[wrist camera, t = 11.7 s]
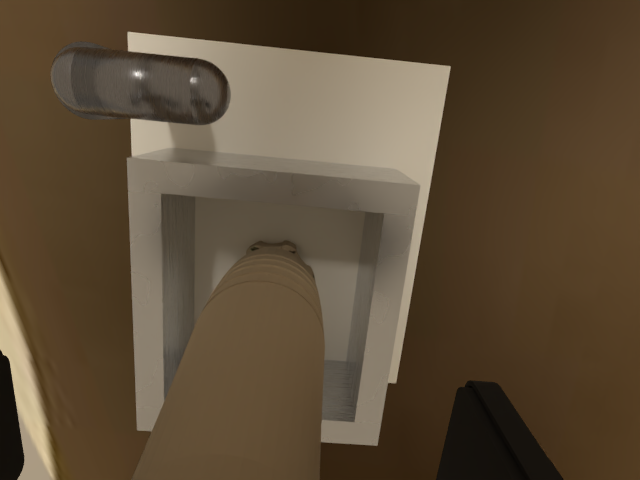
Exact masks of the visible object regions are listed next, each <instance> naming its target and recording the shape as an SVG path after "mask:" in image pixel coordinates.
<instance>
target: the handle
mask: <svg viewBox="0 0 640 480" xmlns="http://www.w3.org/2000/svg"><path fill="white" fill-rule="evenodd" d="M324 355H325V340H324V328H323V317H322V309H321V304H320V298H319V293H318V289H317V286H316V282H315V276H314V273H313V270H312V268H311V266H309V265H307V264H305V263H304V262H303V260H302V259H301V258H300V256H299V254H298V252H297V249H296V245H295V244H294V243H292V242H290V241H287V240H284V241H283V242H281V243H275V244H271V243H265V242H263V241H258V242H256V243H254V244H253V245H251V246H250V247H249V248H248V249H247V251H246V255H245V256H243V257H242V258H241V259H239V260H238V261H237V262H236V263H235V264H234V265H233V266H232V267H231V268H230V269H229V270H228V271H227V273H226V274H225V275H224V277H223V278H222V279H221V281H220V282H219V283H218V285H217V286H216V288H215V289H214V291H213V292H212V294H211V296H210V298H209V300H208V301H207V303H206V305H205V307H204V309H203V310H202V312H201V314H200V316H199V318H198V319H197V322H196V324H195V327H194V329H193V332H192V334H191V337H190V339H189V342H188V344H187V347H186V349H185V352H184V354H183V357H182V359H181V361H180V364H179V366H178V369H177V371H176V374H175V376H174V379H173V381H172V384H171V386H170V389H169V391H168V394H167V396H166V399H165V401H164V403H163V406H162V408H161V411H160V413H159V415H158V418H157V420H156V422H155V425H154V427H153V430H152V432H151V434H150V437H149V439H148V442H147V444H146V446H145V449H144V451H143V453H142V456H141V458H140V461H139V463H138V465H137V468H136V470H135V472H134V475H133V477H132V480H320V453H321V422H322V400H323V378H324Z"/></svg>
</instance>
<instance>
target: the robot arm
mask: <svg viewBox="0 0 640 480" xmlns="http://www.w3.org/2000/svg"><path fill="white" fill-rule="evenodd" d="M23 465H24V453H23V447H22V440H21V434H20V428H19V421H18V414H17V408H16V401H15V395H14V388H13V382H12V375H11V369H10V362H9V359H8V358H7V356H4V355H3V354H2V352H1V350H0V480H17V479H18V477H19V476H20V473H21V471H22V469H23ZM436 480H563V478H562V477H561V475H560V474H559V472H558V471H557V469H556V468H555V466H554V465H553V463H552V462H551V461H550V460H549V458H548V457H547V456H546V454H545V453H544V451H543V450H542V448H541V447H540V445H539V444H538V442H537V441H536V439H535V438H534V436H533V435H532V434H531V432H530V431H529V429H528V428H527V426H526V425H525V423H524V422H523V420H522V419H521V417H520V416H519V414H518V413H517V411H516V410H515V408H514V407H513V405H512V404H511V402H510V401H509V399H508V398H507V396H506V395H505V393H504V392H503V390H502V389H501V387H500V386H499V385H498V384H497V383H495V382H483V381H468V382H467V383H466V385H465V387H459V388H458V390H457V393H456V397H455V401H454V405H453V410H452V414H451V418H450V422H449V427H448V431H447V435H446V440H445V444H444V448H443V452H442V457H441V461H440V465H439V470H438V474H437V478H436Z"/></svg>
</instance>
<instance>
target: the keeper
mask: <svg viewBox="0 0 640 480" xmlns="http://www.w3.org/2000/svg"><path fill="white" fill-rule="evenodd" d="M450 68H451V66H444V65H434V64H425V63H415V62H406V61H397V60H387V59H378V58H369V57H359V56H350V55H340V54H331V53H322V52H312V51H303V50H293V49H284V48H275V47H265V46H256V45H246V44H237V43H228V42H218V41H209V40H199V39H190V38H181V37H171V36H162V35H152V34H143V33H134V32H128V51H121V50H112V49H109V48H106V47H103V46H100V45H97V44H93V43H90V42H75V43H72V44H69V45H67V46H66V47H64V48H63V49H62V50H60V51H59V53H58V54H57V55H56V57H55V59H54V61H53V64H52V67H51V82H52V86H53V89H54V91H55V93H56V95H57V97H58V99H59V100H60V102H61V103H62V104H63V105H64V106H65V107H66V108H67V109H68V110H69V111H71V112H72V113H74V114H75V115H77V116H80V117H82V118H86V119H131V147H132V157H128V158H127V174H128V201H129V227H130V254H131V281H132V307H133V334H134V361H135V387H136V414H137V430H140V431H152V430H153V427H154V425H155V422H156V420H157V418H158V415H159V413H160V411H161V408H162V406H163V403H164V401H165V399H166V396H167V394H168V391H169V389H170V386H171V384H172V381H173V379H174V376H175V374H176V371H177V369H178V366H179V364H180V361H181V359H182V357H183V354H184V352H185V349H186V347H187V344H188V342H189V339H190V337H191V334H192V332H193V329H194V327H195V324H196V322H197V319H198V318H199V316H200V314H201V312H202V310H203V309H204V307H205V305H206V303H207V301H208V300H209V298H210V296H211V294H212V292H213V291H214V289H215V288H216V286H217V285H218V283H219V282H220V281H221V279H222V278H223V277H224V275H225V274H226V273H227V271H228V270H229V269H230V268H231V267H232V266H233V265H234V264H235V263H236V262H237V261H238V260H239V259H241V258H242V257H243V256H245V255H246V251H247V249H248V248H249V247H250V246H251V245H253V244H254V243H256V242H258V241H263V242H265V243H271V244H275V243H281V242H283V241H284V240H287V241H290V242H292V243H294V244H295V245H296V249H297V252H298V254H299V256H300V258H301V259H302V260H303V262H304V263H305V264H307V265H309V266H311V268H312V270H313V273H314V276H315V282H316V286H317V289H318V293H319V298H320V304H321V309H322V317H323V328H324V340H325V355H324V378H323V400H322V422H321V442H327V443H342V444H358V445H374V446H377V445H378V439H379V433H380V427H381V421H382V415H383V409H384V403H385V397H386V391H387V385H388V383H396V381H397V375H398V369H399V363H400V358H401V352H402V346H403V340H404V334H405V329H406V323H407V317H408V311H409V306H410V300H411V294H412V288H413V282H414V277H415V271H416V265H417V259H418V253H419V248H420V242H421V236H422V230H423V224H424V219H425V213H426V207H427V201H428V195H429V190H430V184H431V178H432V172H433V166H434V161H435V155H436V149H437V143H438V137H439V132H440V126H441V120H442V114H443V108H444V103H445V97H446V91H447V85H448V79H449V74H450Z"/></svg>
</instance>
